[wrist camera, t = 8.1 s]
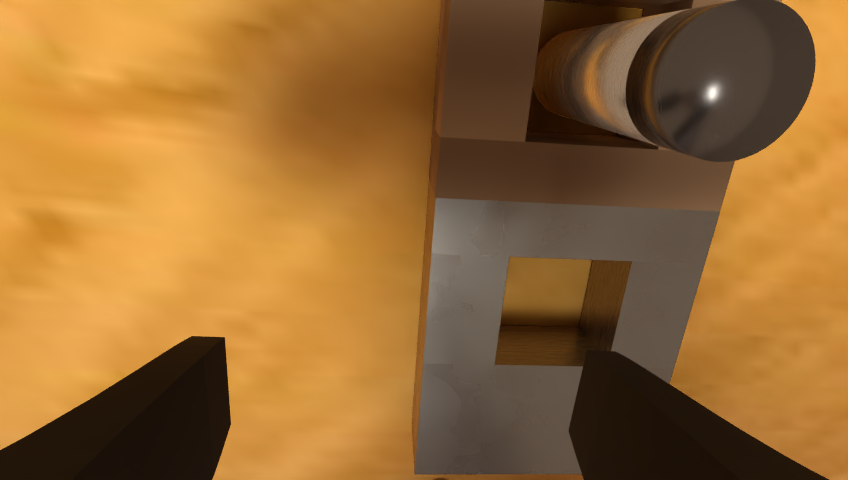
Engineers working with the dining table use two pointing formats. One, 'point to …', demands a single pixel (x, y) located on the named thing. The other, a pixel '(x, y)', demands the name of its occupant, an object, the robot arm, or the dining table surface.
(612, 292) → the socket block
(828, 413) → the dining table surface
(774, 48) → the cylindrical metal peg
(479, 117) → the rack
